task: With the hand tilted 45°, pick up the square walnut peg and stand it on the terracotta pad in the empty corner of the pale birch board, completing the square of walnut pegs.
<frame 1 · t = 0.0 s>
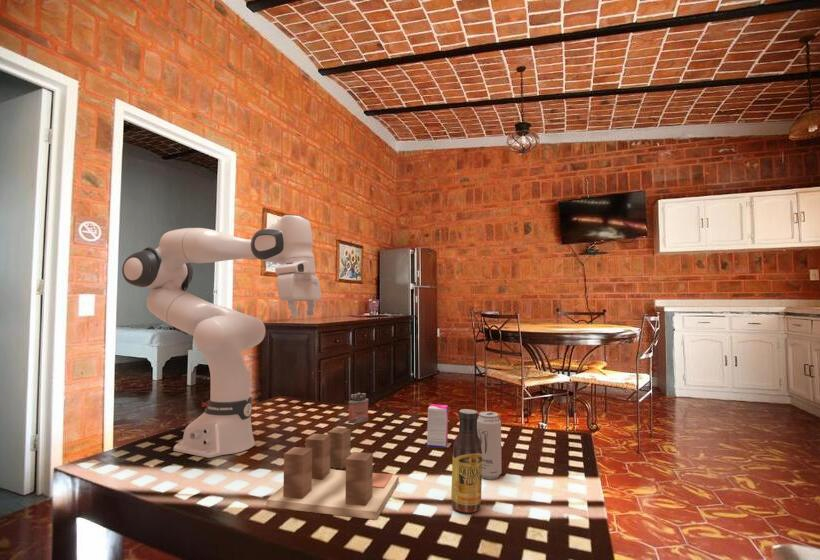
hand: (303, 316, 123), 39 cm above the table, tool pointing down, fingers open, 8 cm apart
energy drink can: (489, 476, 105), on the table
lighter: (358, 421, 154), on the table
sauce bottle: (466, 508, 88), on the table
walnut peg: (338, 465, 112), on the table
supplement box: (437, 445, 128), on the table
layout board: (336, 493, 95), on the table
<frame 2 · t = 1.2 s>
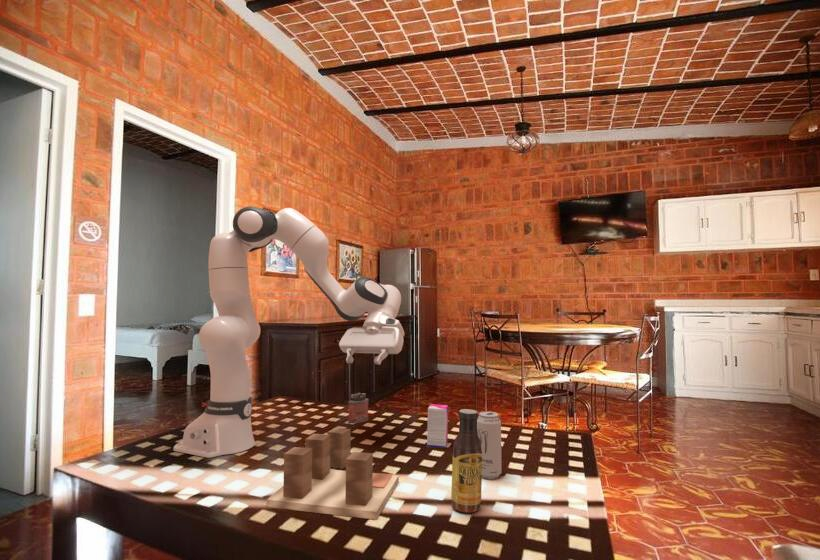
hand: (362, 362, 124), 25 cm above the table, tool tilted 45°, fingers open, 8 cm apart
nothing on the table moved.
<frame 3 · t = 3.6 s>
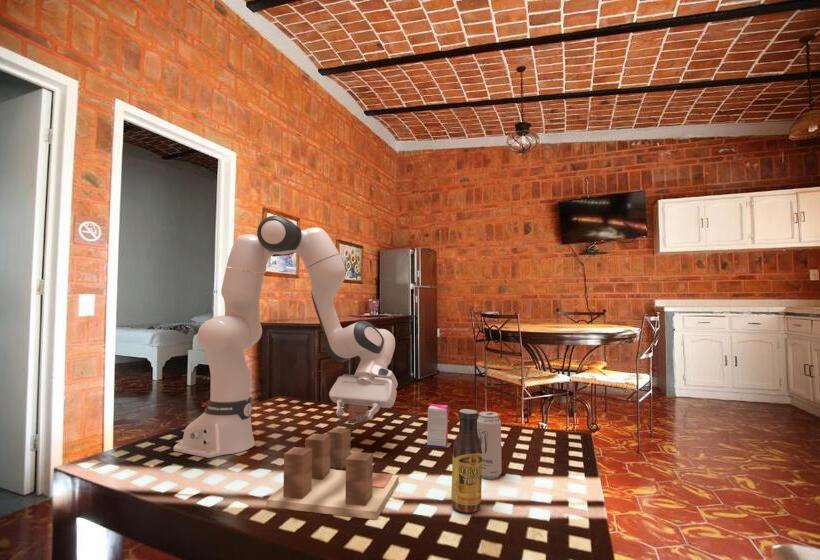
hand: (353, 416, 119), 11 cm above the table, tool tilted 45°, fingers open, 8 cm apart
nothing on the table moved.
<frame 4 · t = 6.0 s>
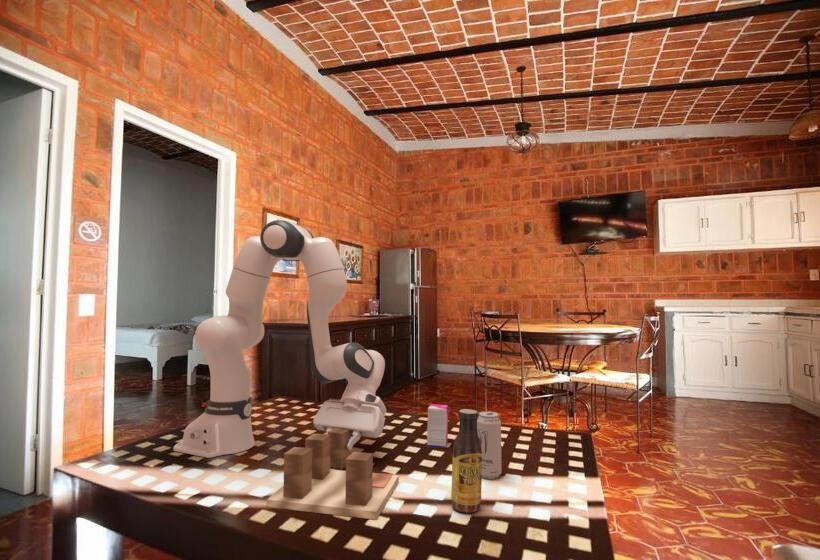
hand: (337, 447, 111), 5 cm above the table, tool tilted 45°, fingers closed on walnut peg, 4 cm apart
walnut peg: (338, 465, 112), on the table, touching gripper
everything else where it was.
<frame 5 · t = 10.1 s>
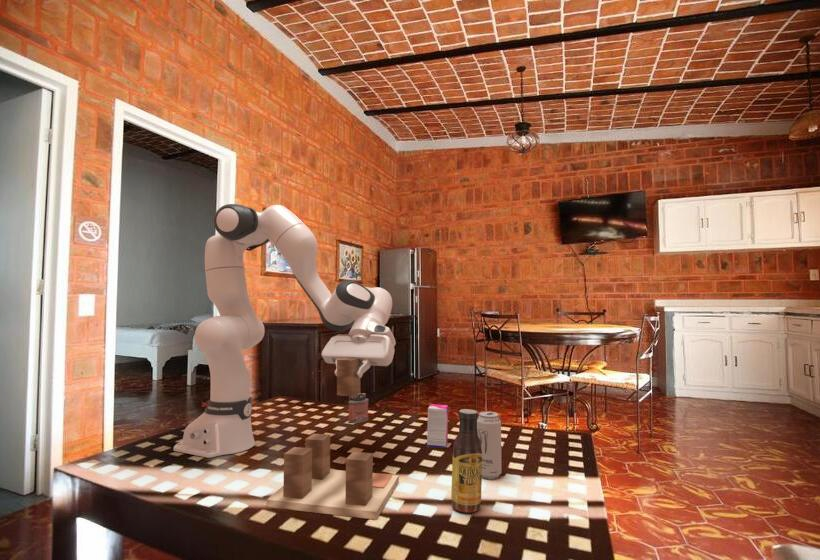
hand: (347, 375, 109), 24 cm above the table, tool tilted 45°, fingers closed on walnut peg, 4 cm apart
walnut peg: (348, 394, 110), point 19 cm above the table, touching gripper
everything else where it was.
when the fingers open (8 cm above the table, at t = 14.3 s): walnut peg drops 1 cm, resting on layout board.
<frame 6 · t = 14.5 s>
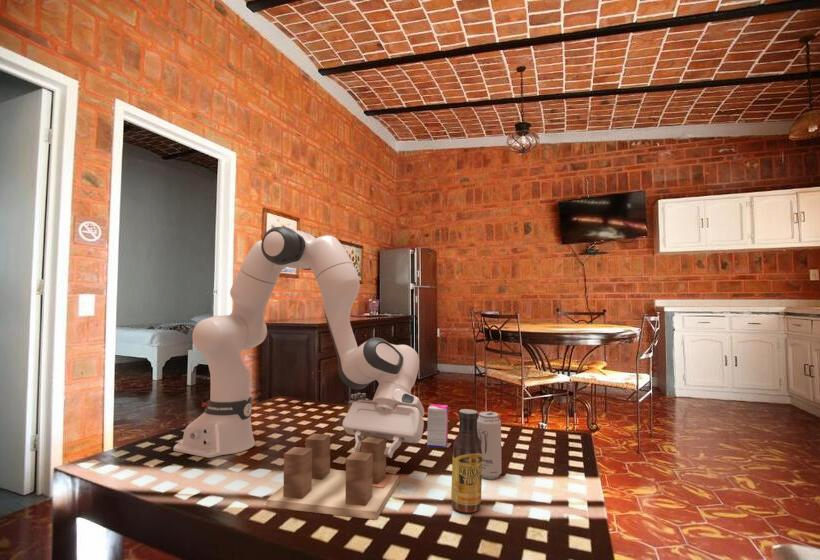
hand: (372, 454, 98), 8 cm above the table, tool tilted 45°, fingers open, 6 cm apart
walnut peg: (373, 479, 98), point 2 cm above the table, touching layout board
everything else where it was.
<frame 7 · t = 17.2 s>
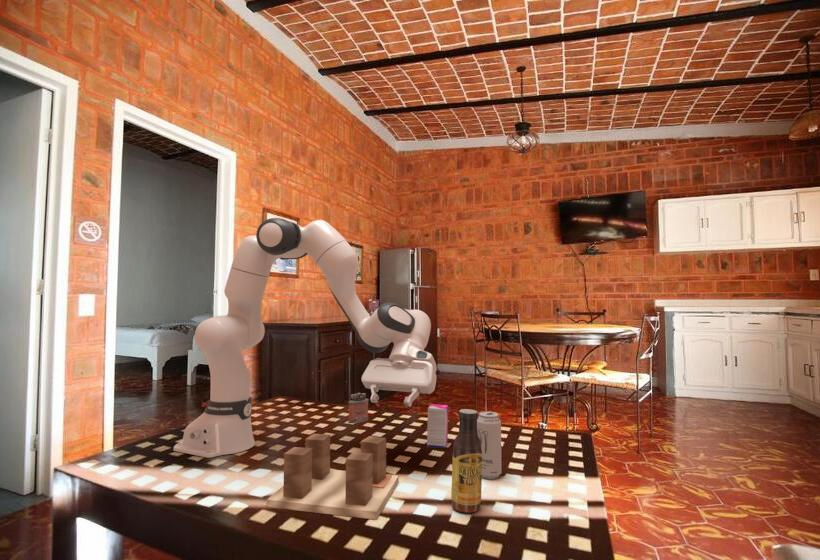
hand: (390, 403, 107), 17 cm above the table, tool tilted 45°, fingers open, 8 cm apart
nothing on the table moved.
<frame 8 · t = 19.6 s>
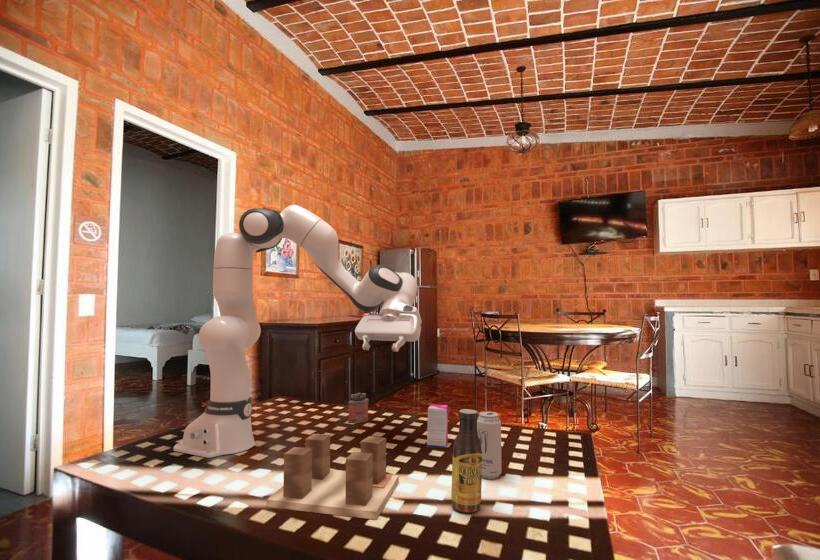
hand: (379, 349, 122), 29 cm above the table, tool tilted 45°, fingers open, 8 cm apart
nothing on the table moved.
at the end: walnut peg 0.1 cm from the target spot on the layout board, point 1.8 cm above the layout board's base; walnut peg tilted 0°; the gripper is holding nothing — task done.
